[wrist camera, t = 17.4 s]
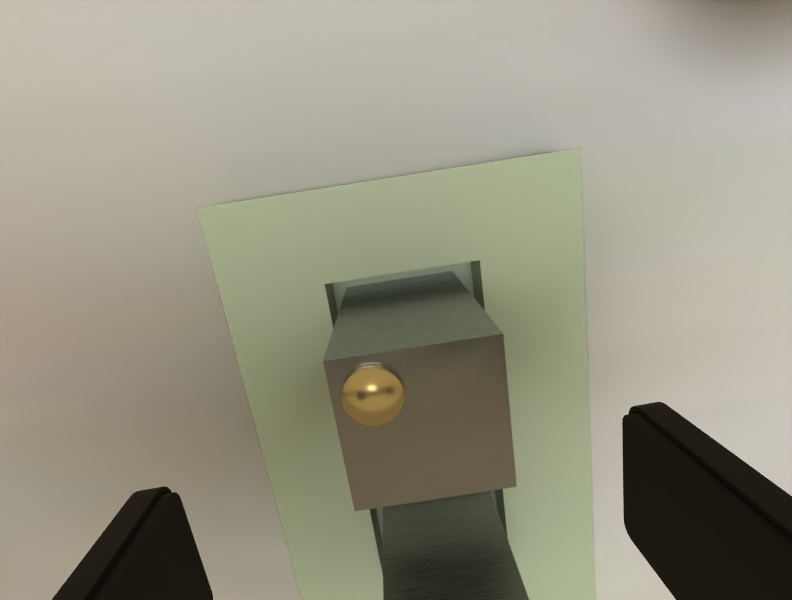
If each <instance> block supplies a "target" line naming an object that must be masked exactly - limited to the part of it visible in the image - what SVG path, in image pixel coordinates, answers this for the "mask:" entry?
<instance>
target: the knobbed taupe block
mask: <svg viewBox="0 0 792 600" xmlns="http://www.w3.org/2000/svg"><path fill="white" fill-rule="evenodd" d="M323 364H324V369H325V374H326V378H327V383H328V388H329V393H330V397H331V402H332V407H333V412H334V416H335V421H336V426H337V430H338V435H339V440H340V445H341V449H342V454H343V459H344V464H345V468H346V473H347V478H348V483H349V487H350V492H351V497H352V502H353V506H354V511H361V510H367V509H374V508H380V507H387V506H394V505H400V504H407V503H413V502H420V501H427V500H433V499H440V498H446V497H453V496H460V495H466V494H473V493H479V492H486V491H493V490H499V489H506V488H512V487H517V484H516V472H515V461H514V450H513V438H512V427H511V416H510V404H509V393H508V382H507V370H506V359H505V348H504V336H503V333H502V332H501V330H500V329H499V328H498V327H497V325H496V324H495V323H494V322H493V321H492V319H491V318H490V317H489V316H488V314H487V313H486V312H485V311H484V309H483V308H482V307H481V306H480V304H479V303H478V302H477V301H476V300H475V298H474V297H473V296H472V295H471V293H470V292H469V291H468V290H467V288H466V287H465V286H464V285H463V284H462V282H461V281H460V280H459V279H458V277H457V276H456V275H455V274H454V272H453V271H448V272H441V273H435V274H428V275H422V276H416V277H409V278H403V279H396V280H390V281H383V282H377V283H370V284H364V285H357V286H351V287H346V291H345V294H344V297H343V300H342V303H341V306H340V309H339V313H338V316H337V319H336V322H335V325H334V328H333V331H332V335H331V338H330V341H329V344H328V347H327V350H326V353H325V357H324V360H323Z"/></svg>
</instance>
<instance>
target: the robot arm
mask: <svg viewBox="0 0 792 600" xmlns="http://www.w3.org/2000/svg"><path fill="white" fill-rule="evenodd" d="M622 424H623V496H624V524H625V527H626V530H627V533H628V535H629V537H630V538H631V540H632V541H633V543H634V544H635V545H636V547H637V548H638V549H639V551H640V552H641V553H642V555H643V556H644V557H645V559H646V560H647V561H648V563H649V564H650V565H651V567H652V568H653V569H654V571H655V572H656V573H657V575H658V576H659V577H660V579H661V580H662V581H663V583H664V584H665V585H666V587H667V588H668V589H669V591H670V592H671V593H672V595H673V596H674V597H675V599H676V600H792V496H790V495H789V494H788V493H786V492H785V491H784V490H782V489H781V488H779V487H778V486H777V485H775V484H774V483H773V482H771V481H770V480H769V479H767V478H766V477H764V476H763V475H762V474H760V473H759V472H758V471H756V470H755V469H753V468H752V467H751V466H749V465H748V464H747V463H745V462H744V461H742V460H741V459H740V458H738V457H737V456H736V455H734V454H733V453H732V452H730V451H729V450H727V449H726V448H725V447H723V446H722V445H721V444H719V443H718V442H716V441H715V440H714V439H712V438H711V437H710V436H708V435H707V434H706V433H704V432H703V431H701V430H700V429H699V428H697V427H696V426H695V425H693V424H692V423H690V422H689V421H688V420H686V419H685V418H684V417H682V416H681V415H680V414H678V413H677V412H675V411H674V410H673V409H671V408H670V407H669V406H667V405H666V404H664V403H662V402H655V403H650V404H644V405H638V406H633V407H631V408H630V411H629V414H628V415H625V416H624V417H623V422H622ZM52 600H213V595H212V591H211V588H210V585H209V582H208V579H207V576H206V573H205V570H204V567H203V564H202V561H201V558H200V555H199V552H198V549H197V546H196V543H195V540H194V537H193V534H192V531H191V528H190V525H189V522H188V519H187V516H186V513H185V510H184V507H183V504H182V501H181V498H180V496H179V495H178V494H177V493H175V492H174V493H172V492H171V490H170V489H169V488H168V487H159V488H153V489H147V490H142V491H137V492H135V493H133V494H132V495H131V496H130V498H129V499H128V500H127V502H126V503H125V504H124V506H123V507H122V508H121V510H120V511H119V512H118V514H117V515H116V516H115V517H114V519H113V520H112V521H111V523H110V524H109V525H108V527H107V528H106V529H105V531H104V532H103V533H102V535H101V536H100V537H99V539H98V540H97V541H96V542H95V544H94V545H93V546H92V548H91V549H90V550H89V552H88V553H87V554H86V556H85V557H84V558H83V560H82V561H81V562H80V563H79V565H78V566H77V567H76V569H75V570H74V571H73V573H72V574H71V575H70V577H69V578H68V579H67V581H66V582H65V583H64V584H63V586H62V587H61V588H60V590H59V591H58V592H57V594H56V595H55V596H54V598H53V599H52Z"/></svg>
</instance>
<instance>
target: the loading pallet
mask: <svg viewBox="0 0 792 600" xmlns="http://www.w3.org/2000/svg"><path fill="white" fill-rule="evenodd" d="M197 212H198V216H199V219H200V223H201V227H202V231H203V234H204V238H205V242H206V246H207V249H208V253H209V257H210V260H211V264H212V268H213V272H214V275H215V279H216V283H217V286H218V290H219V294H220V298H221V301H222V305H223V309H224V312H225V316H226V320H227V324H228V327H229V331H230V335H231V339H232V342H233V346H234V350H235V353H236V357H237V361H238V365H239V368H240V372H241V376H242V379H243V383H244V387H245V391H246V394H247V398H248V402H249V405H250V409H251V413H252V417H253V420H254V424H255V428H256V431H257V435H258V439H259V443H260V446H261V450H262V454H263V458H264V461H265V465H266V469H267V472H268V476H269V480H270V484H271V487H272V491H273V495H274V498H275V502H276V506H277V510H278V513H279V517H280V521H281V524H282V528H283V532H284V536H285V539H286V543H287V547H288V551H289V554H290V558H291V562H292V565H293V569H294V573H295V577H296V580H297V584H298V588H299V591H300V595H301V599H302V600H383V507H380V508H374V509H367V510H361V511H354V506H353V502H352V497H351V492H350V487H349V483H348V478H347V473H346V468H345V464H344V459H343V454H342V449H341V445H340V440H339V435H338V430H337V426H336V421H335V416H334V412H333V407H332V402H331V397H330V393H329V388H328V383H327V378H326V374H325V369H324V364H323V360H324V357H325V353H326V350H327V347H328V344H329V341H330V338H331V335H332V331H333V328H334V325H335V322H336V319H337V316H338V313H339V309H340V306H341V303H342V300H343V297H344V294H345V291H346V287H351V286H357V285H364V284H370V283H377V282H383V281H390V280H396V279H403V278H409V277H416V276H422V275H428V274H435V273H441V272H448V271H453V272H454V274H455V275H456V276H457V277H458V279H459V280H460V281H461V282H462V284H463V285H464V286H465V287H466V288H467V290H468V291H469V292H470V293H471V295H472V296H473V297H474V298H475V300H476V301H477V302H478V303H479V304H480V306H481V307H482V308H483V309H484V311H485V312H486V313H487V314H488V316H489V317H490V318H491V319H492V321H493V322H494V323H495V324H496V325H497V327H498V328H499V329H500V330H501V332H502V333H503V336H504V348H505V359H506V370H507V382H508V393H509V404H510V416H511V427H512V438H513V450H514V461H515V472H516V484H517V487H512V488H506V489H499V490H493V491H491V494H492V497H493V500H494V502H495V505H496V508H497V511H498V514H499V516H500V519H501V522H502V525H503V528H504V530H505V533H506V536H507V539H508V542H509V544H510V547H511V550H512V553H513V556H514V558H515V561H516V564H517V567H518V570H519V572H520V575H521V578H522V581H523V584H524V586H525V589H526V592H527V595H528V598H529V600H596V588H595V558H594V529H593V500H592V470H591V441H590V411H589V382H588V352H587V323H586V293H585V264H584V234H583V205H582V175H581V148H576V149H570V150H564V151H557V152H551V153H544V154H538V155H532V156H525V157H519V158H512V159H506V160H500V161H493V162H487V163H480V164H474V165H468V166H461V167H455V168H448V169H442V170H436V171H429V172H423V173H416V174H410V175H404V176H397V177H391V178H384V179H378V180H372V181H365V182H359V183H352V184H346V185H340V186H333V187H327V188H320V189H314V190H308V191H301V192H295V193H288V194H282V195H276V196H269V197H263V198H256V199H250V200H244V201H237V202H231V203H224V204H218V205H212V206H205V207H199V208H197Z"/></svg>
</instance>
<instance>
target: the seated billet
mask: <svg viewBox="0 0 792 600" xmlns="http://www.w3.org/2000/svg"><path fill="white" fill-rule="evenodd" d="M383 600H529V598H528V595H527V592H526V589H525V586H524V584H523V581H522V578H521V575H520V572H519V570H518V567H517V564H516V561H515V558H514V556H513V553H512V550H511V547H510V544H509V542H508V539H507V536H506V533H505V530H504V528H503V525H502V522H501V519H500V516H499V514H498V511H497V508H496V505H495V502H494V500H493V497H492V494H491V491H486V492H479V493H473V494H466V495H460V496H453V497H446V498H440V499H433V500H427V501H420V502H413V503H407V504H400V505H394V506H387V507H383Z"/></svg>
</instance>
